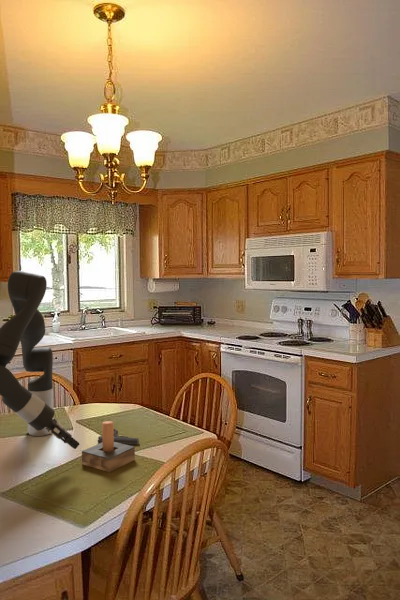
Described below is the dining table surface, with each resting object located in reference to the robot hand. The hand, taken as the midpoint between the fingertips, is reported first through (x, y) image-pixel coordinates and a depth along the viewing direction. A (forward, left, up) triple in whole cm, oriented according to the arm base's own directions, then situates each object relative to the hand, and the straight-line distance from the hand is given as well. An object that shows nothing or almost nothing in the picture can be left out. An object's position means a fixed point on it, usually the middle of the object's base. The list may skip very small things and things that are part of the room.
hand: (73, 442), depth 153 cm
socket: (+5, +10, -9) cm, 14 cm away
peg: (+5, +10, -8) cm, 14 cm away
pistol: (-6, +28, -9) cm, 31 cm away
